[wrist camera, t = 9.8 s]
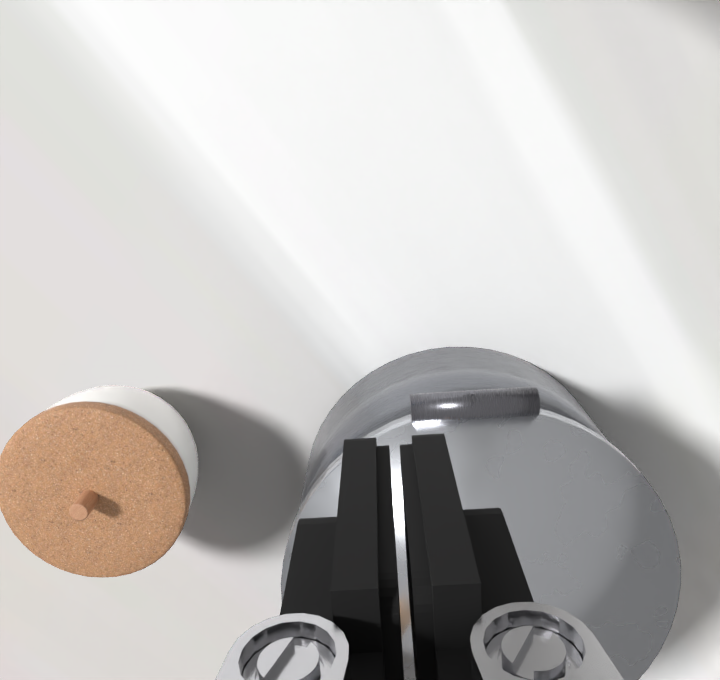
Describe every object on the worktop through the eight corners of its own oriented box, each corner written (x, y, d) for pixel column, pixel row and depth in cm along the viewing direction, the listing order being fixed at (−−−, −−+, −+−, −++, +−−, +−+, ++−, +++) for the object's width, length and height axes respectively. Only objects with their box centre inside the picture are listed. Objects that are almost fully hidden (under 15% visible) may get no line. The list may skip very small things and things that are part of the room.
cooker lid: (261, 397, 33) (250, 423, 30) (684, 371, 33) (716, 395, 30) (312, 813, 41) (307, 867, 38) (654, 800, 40) (678, 854, 37)
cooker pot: (292, 357, 43) (269, 419, 34) (607, 336, 43) (676, 394, 33) (327, 685, 51) (317, 813, 41) (596, 672, 50) (649, 800, 40)
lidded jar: (249, 438, 45) (219, 512, 36) (147, 537, 47) (95, 631, 38) (124, 328, 43) (59, 378, 34) (23, 438, 45) (-62, 512, 36)
